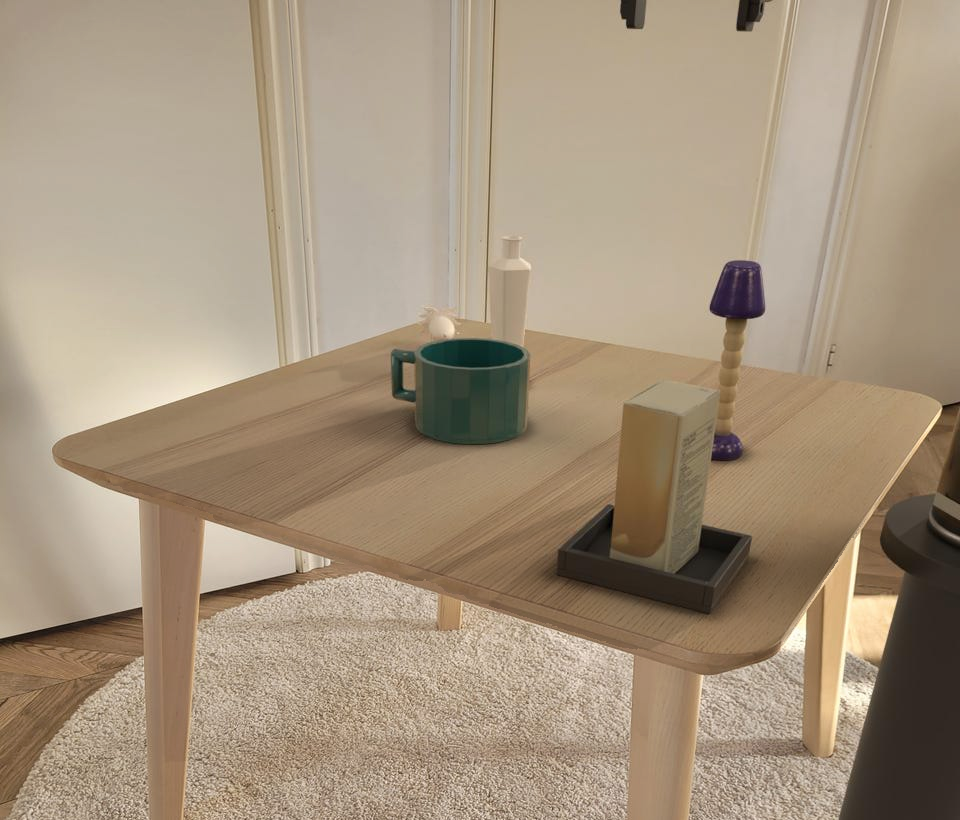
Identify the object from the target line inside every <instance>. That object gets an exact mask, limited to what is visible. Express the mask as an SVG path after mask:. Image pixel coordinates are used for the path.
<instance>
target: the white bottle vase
mask: <svg viewBox="0 0 960 820" xmlns="http://www.w3.org/2000/svg"><path fill="white" fill-rule="evenodd" d="M500 238H501V240H502V248H501V249H502V251H501V254H502V255H501V258H499V259H497V260H495V261H494V262H493V261H492V262H491V263H490V264H488V265H487V266H488V268H487V271H488V272H487V273H488V291H489V312H490V313H489V314H490V334H491V335H490V336H491V338H490V339H493V340H499V341H506V342H509V343H513V344H516V345H519V346H521V347H523V348H524V343H525V332H526V324H527V323H526V322H527V313H528V302H529V295H530V294H529V293H530V284H531V273H532V264H531V263H530V262H528V261H527V260H525V259H524V258H522V257H521V243H522V242H521V241H522V240H523V237H522V236H518V235H517V236H516V235H505V236H501V237H500Z"/></svg>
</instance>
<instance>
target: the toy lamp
mask: <svg viewBox="0 0 960 820" xmlns="http://www.w3.org/2000/svg"><path fill="white" fill-rule="evenodd" d="M765 297H766V296H765V289H764V279H763V271H762V266H761V264H760V263H759V262H756V261H753V260H745V259H744V260H743V259H739V260H738V259H735V260H730V261H727V262H726V263H725V264H724V266H723V267H722V270H721V273H720V276H719V278H718V281H717V283H716V287H715V289H714V292H713V294H712V297H711V300H710V303H709V307H708V308H709V312H710V313H711V314H713V315H714V316H716V317H720V318H725V321H724V322H725V330H726V331H725V333H724V336H723V340H722V341H723V342H722V343H723V347H724V349H723V350H722V353H721V356H720V357H721V358H720V360H721V361H720V362H721V367H720V369H719V373H718V381H719V383H718V386H717V388H716V390H720V398H719V405H718V413H717V420H716V427H715V434H714V441H713V448H712V455H711V460H717V461H733V460H736V459H739V458H740V457H742V456H743V454H744V448H743V443H742V441H741V439H740V437H739V436H738V435H736V434H735V433H733V432H732V430H733V425H734V422H733V418H732V417H733V416H734V414H735V412H736V411H735V409H736V404H735V399H737V396H738V385H737V384H738V382H739V380H740V377H741V370H740V366H741V364H742V361H743V352H742V349H743V348H744V345H745V341H746V340H745V339H746V338H745V332H744V331H745V330H746V328H747V325H748V320H755V319H758V318H760V317H761V316H764V315H765V312H766V299H765Z"/></svg>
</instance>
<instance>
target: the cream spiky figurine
mask: <svg viewBox="0 0 960 820" xmlns="http://www.w3.org/2000/svg"><path fill="white" fill-rule="evenodd" d="M422 308H423V310H424V312H425V313H417V315H418V316H419V318H422V319H424V318H425V319H424V320H422V321H420V322H416V324H417V325H418V326H420V327H422V329H420V331H419V330H418V333H419V334H424V333H425V332H426V331H427V329H428V333H429V343H430V342H434V341H439V340H445V339H453V338H454V336H455V335H460V332H458V331H457V330H456V328H455V326H460V325H462V322H457V320H456V319H458V318H459V317H460V315H461V314H460V313H458V314H454V312H456V310H457V308H458V305H455V306H454V307H453V306H452V307H444V308H442V309H441V311H440V313H439V311H438V310H437V309H436V308H434V307H430V306H429V307H427V306H424V305H422Z"/></svg>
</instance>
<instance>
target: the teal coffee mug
mask: <svg viewBox="0 0 960 820" xmlns="http://www.w3.org/2000/svg"><path fill="white" fill-rule="evenodd" d="M404 363H405V364H409V365H410V364H411V365H413V371H414V373H413V374H414V376H413V377H414V379H413V380H414V381H413V382H414V389H409V388H405V385H404ZM530 372H531V353H530V352H529V350H528V349H527V348H525V347H524V346H523V347H521V346H519V345H516V344H513V343H509V342H506V341H499V340H493V339H492V338H482V337H481V338H480V337H478V338H477V337H456V338H452V339H445V340H439V341H436V340H435V341H434V342H430V341H429V342H427V343H424V344H422V345H419V346H417V348H416V349H415V350H409V349H403V348H398V347H397V348H393V349H392V350H391V351H390V375H391V376H390V380H391V384H390V385H391V397H392V398H393V399H394V400H396V401H397V400H398V401H401V402H402V401H403V402H408V403H414V420H415V427H416V429H417V431H418V432H419V433H421V434H422V435H424V436H426V437H428V438H430V439H433V440H437V441H440V442H444V443H451V444H459V445H488V444H496V443H503V442H506V441H510V440H513V439H515V438H517V437H519V436H521V435H522V434H524V433H525V431H526V429H527V425H528V419H529V417H528V415H529V394H530V375H531V373H530Z"/></svg>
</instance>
